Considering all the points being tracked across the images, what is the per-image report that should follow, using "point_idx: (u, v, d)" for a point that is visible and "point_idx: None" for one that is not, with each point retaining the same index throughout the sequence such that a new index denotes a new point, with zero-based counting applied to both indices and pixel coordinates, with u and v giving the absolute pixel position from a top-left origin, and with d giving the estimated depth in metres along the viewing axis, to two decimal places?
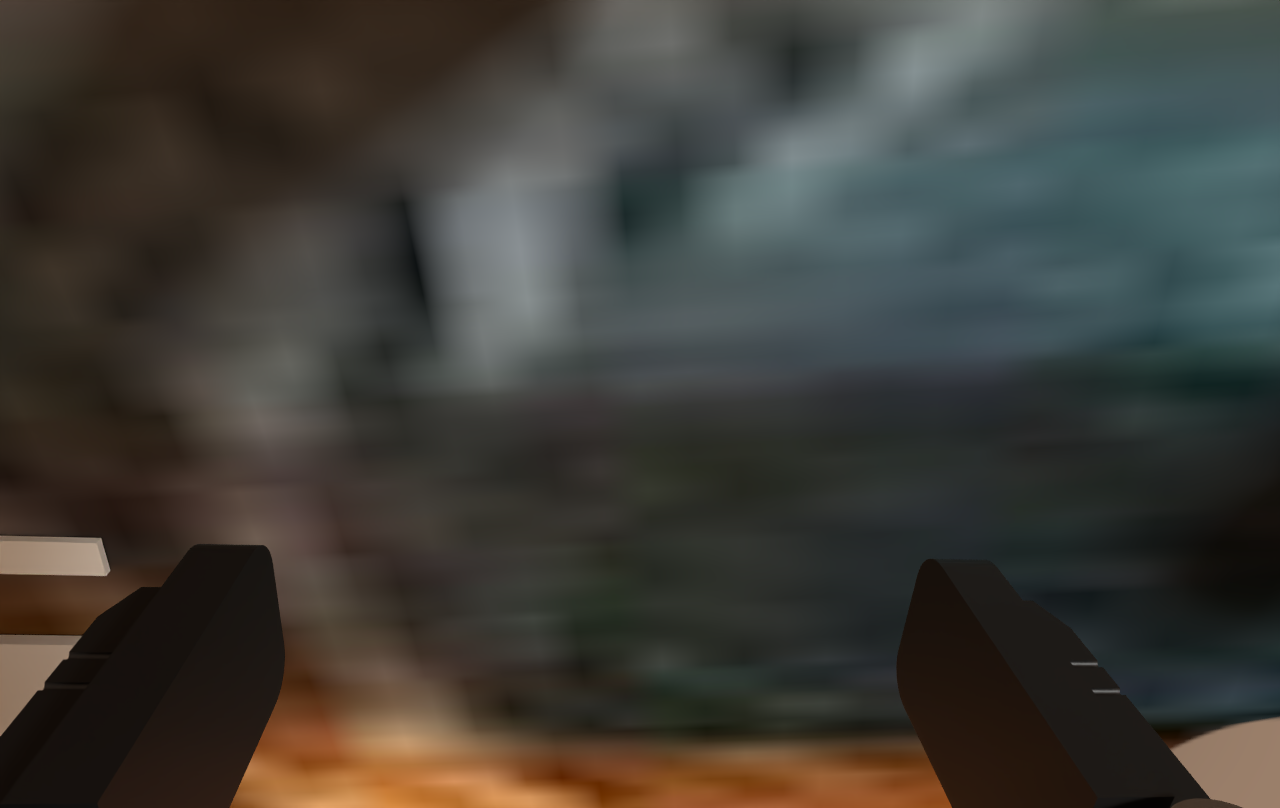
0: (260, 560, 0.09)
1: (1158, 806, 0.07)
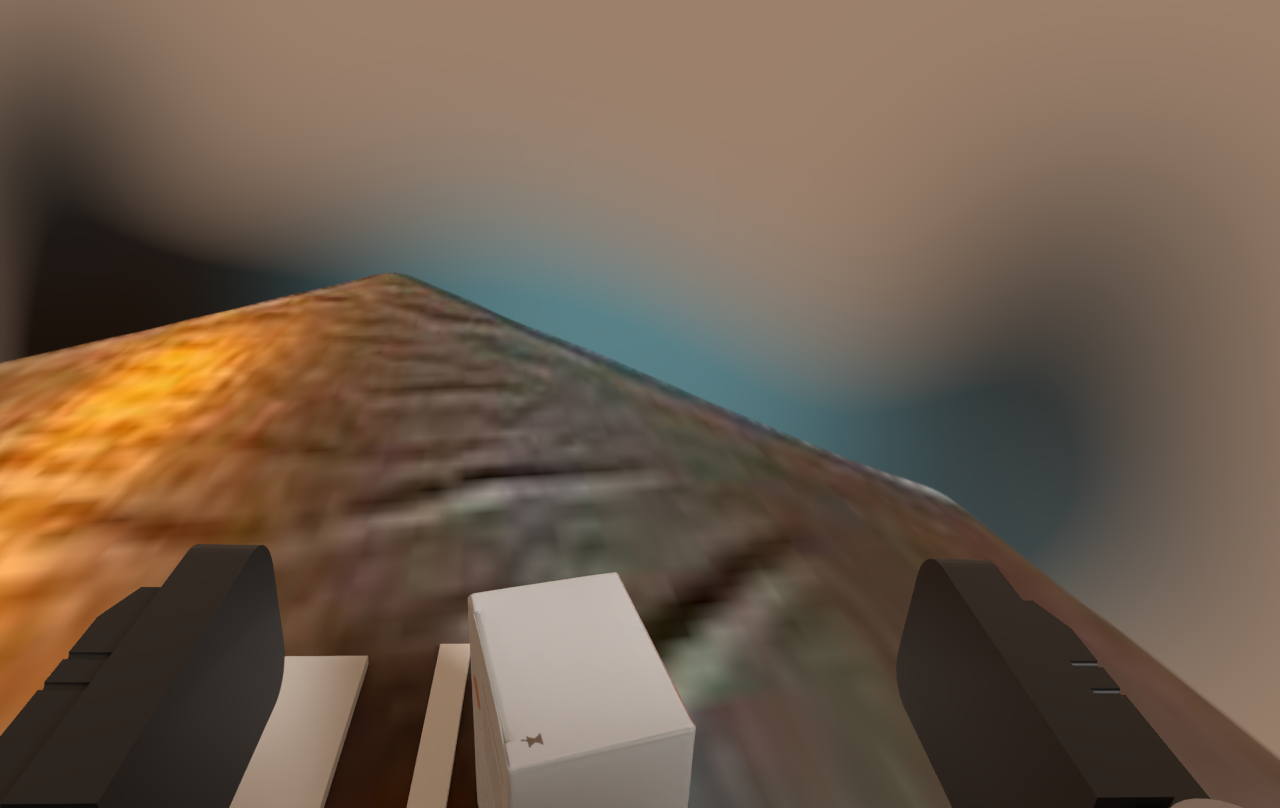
0: (260, 560, 0.09)
1: (1158, 806, 0.07)
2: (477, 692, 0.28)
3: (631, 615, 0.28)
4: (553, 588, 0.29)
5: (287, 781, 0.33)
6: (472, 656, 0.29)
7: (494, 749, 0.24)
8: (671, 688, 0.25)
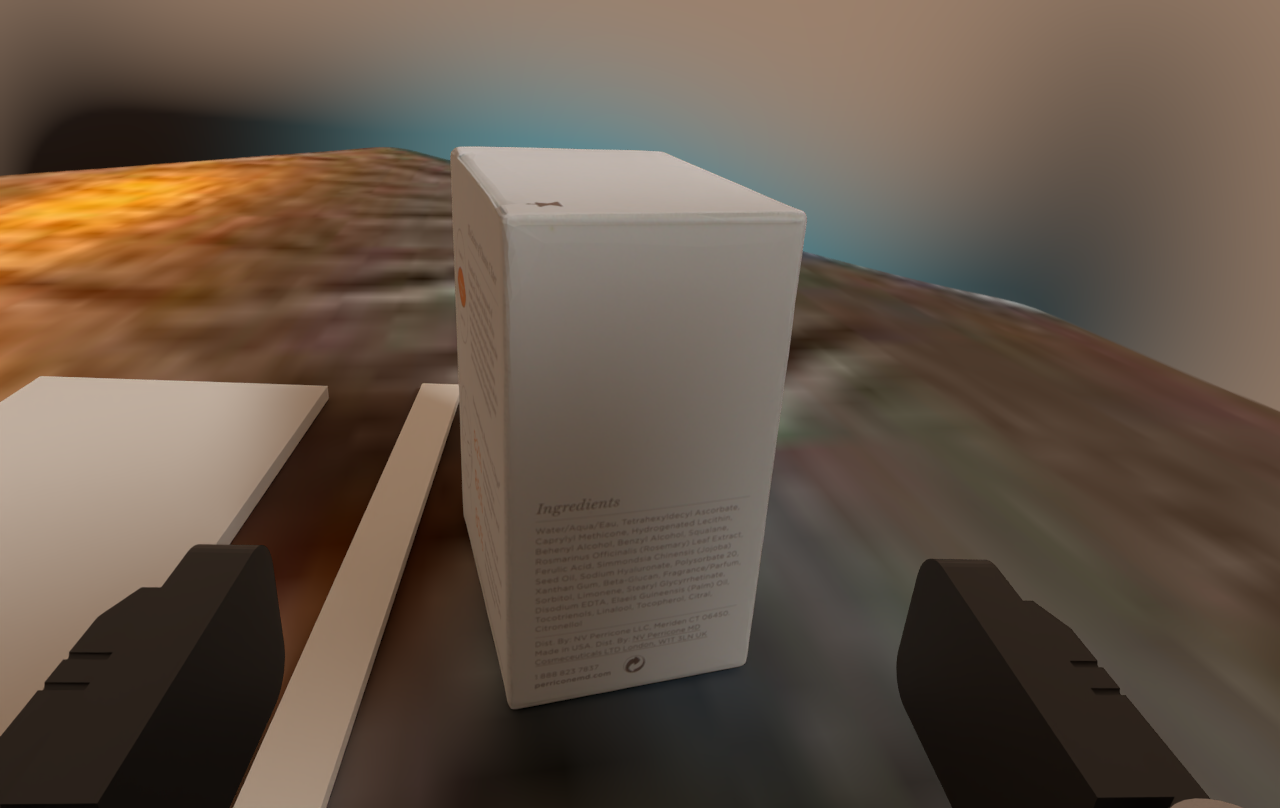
0: (260, 560, 0.09)
1: (1158, 806, 0.07)
2: (462, 282, 0.19)
3: (690, 165, 0.19)
4: (574, 150, 0.20)
5: (203, 481, 0.24)
6: (456, 242, 0.20)
7: (483, 275, 0.16)
8: (761, 194, 0.16)
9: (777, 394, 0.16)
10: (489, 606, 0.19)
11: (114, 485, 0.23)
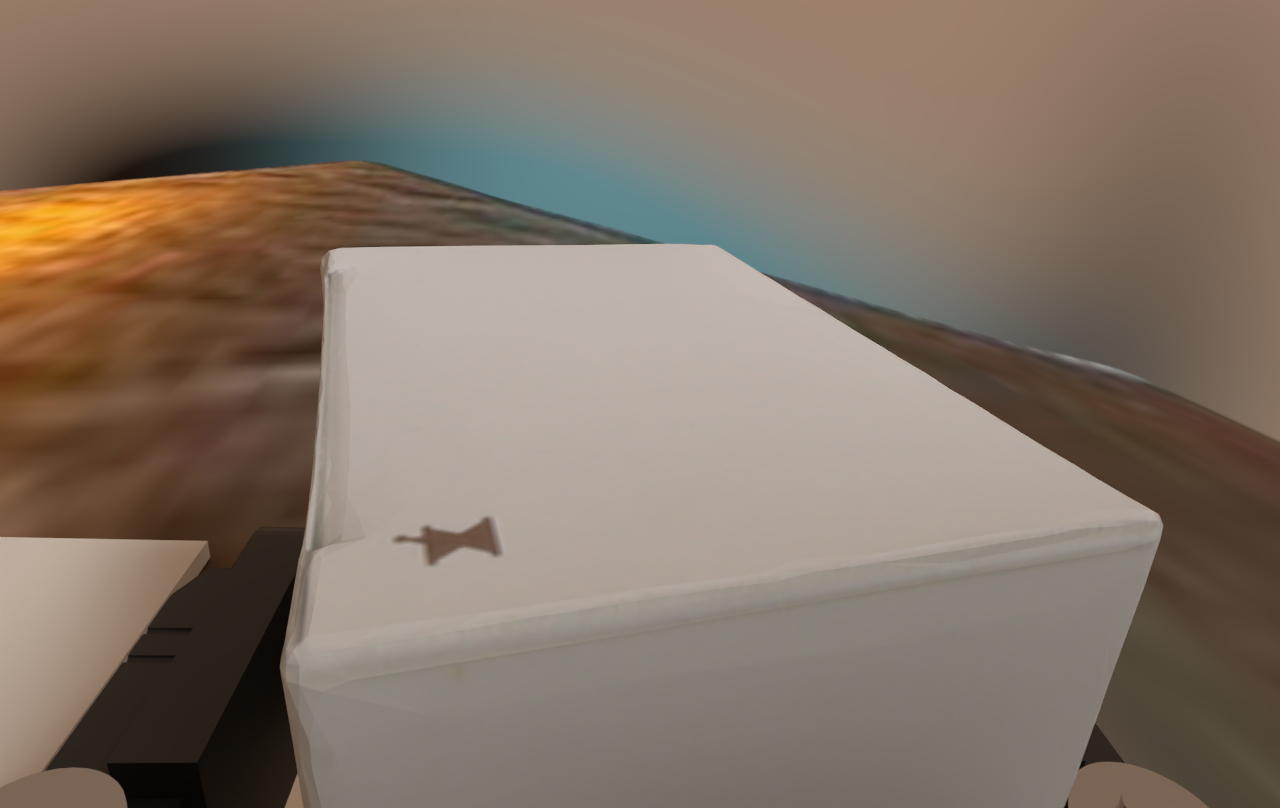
0: None
1: None
2: None
3: (780, 292, 0.10)
4: (557, 251, 0.11)
5: None
6: None
7: None
8: (991, 417, 0.07)
9: None
10: None
11: None
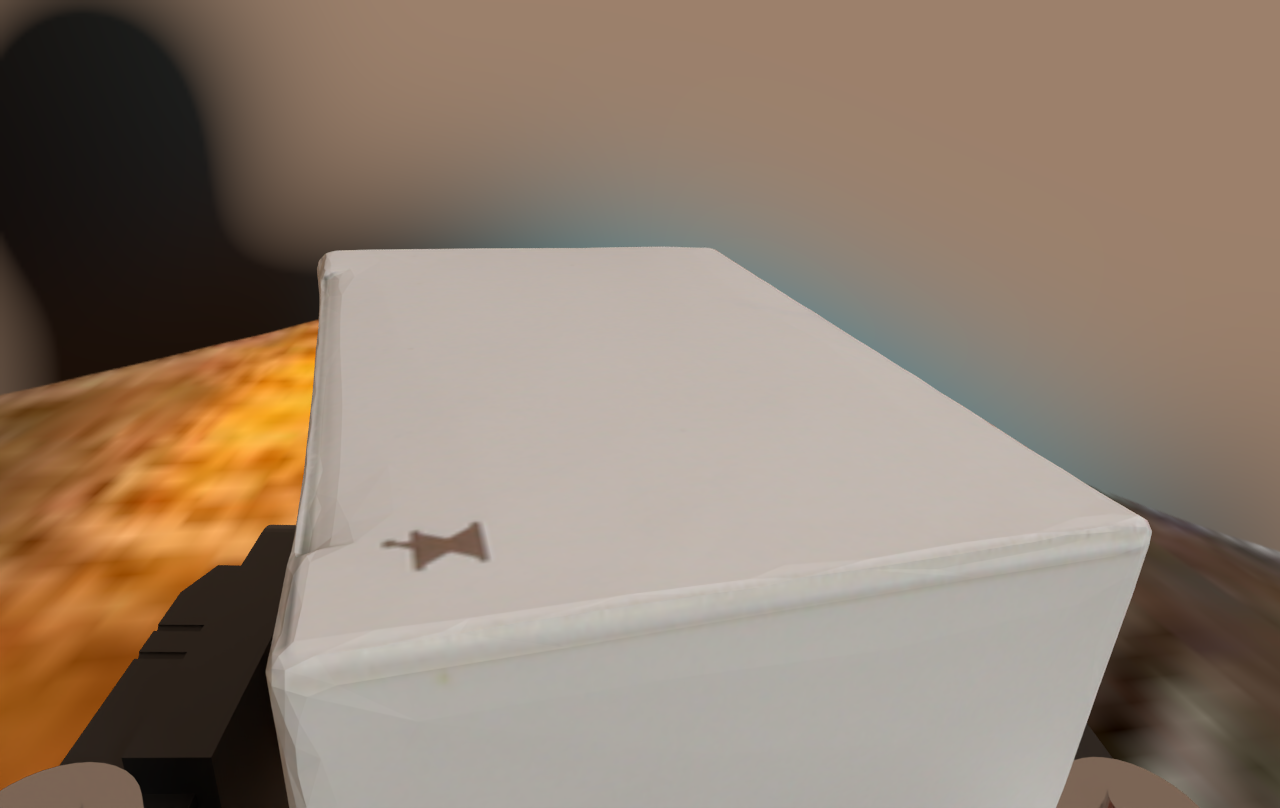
0: None
1: None
2: None
3: (775, 295, 0.10)
4: (553, 254, 0.11)
5: None
6: None
7: None
8: (982, 422, 0.07)
9: None
10: None
11: None
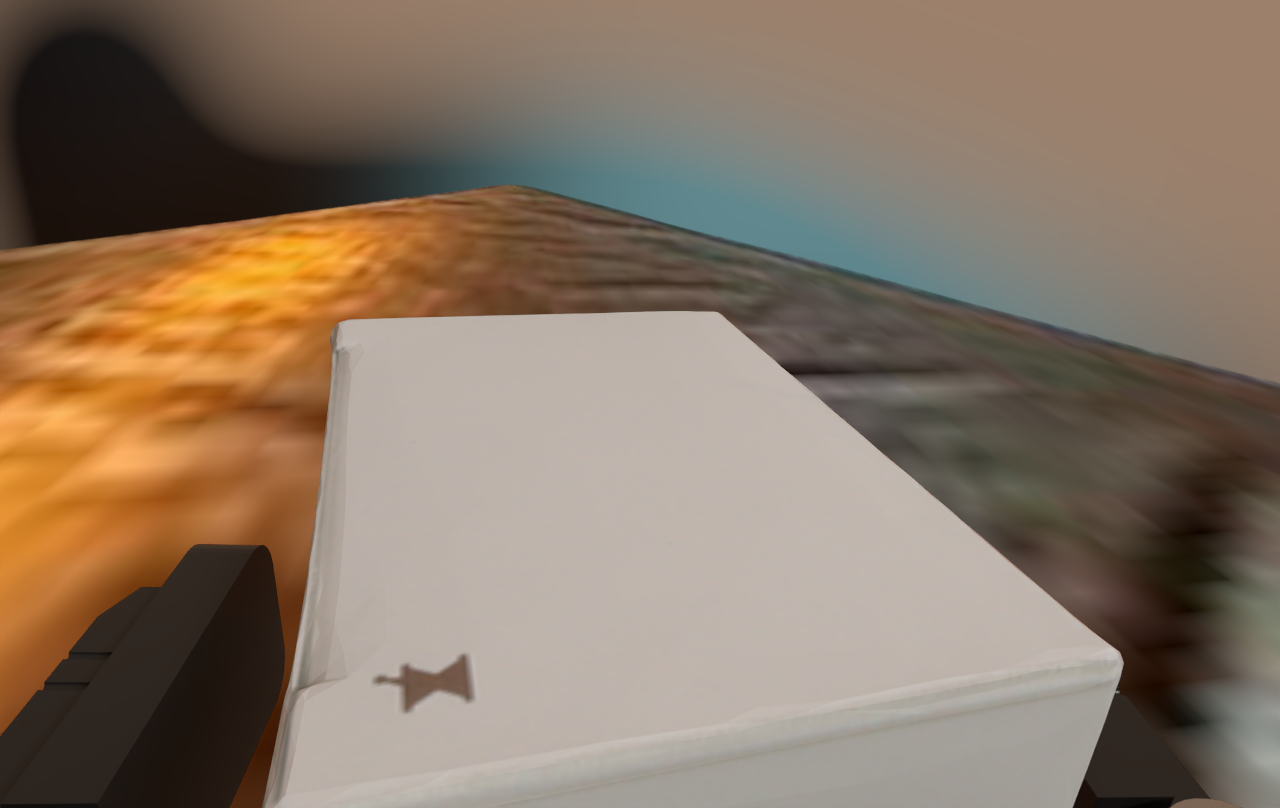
0: (260, 560, 0.09)
1: (1158, 806, 0.07)
2: None
3: (774, 372, 0.10)
4: (559, 322, 0.11)
5: None
6: None
7: None
8: (966, 531, 0.07)
9: None
10: None
11: None
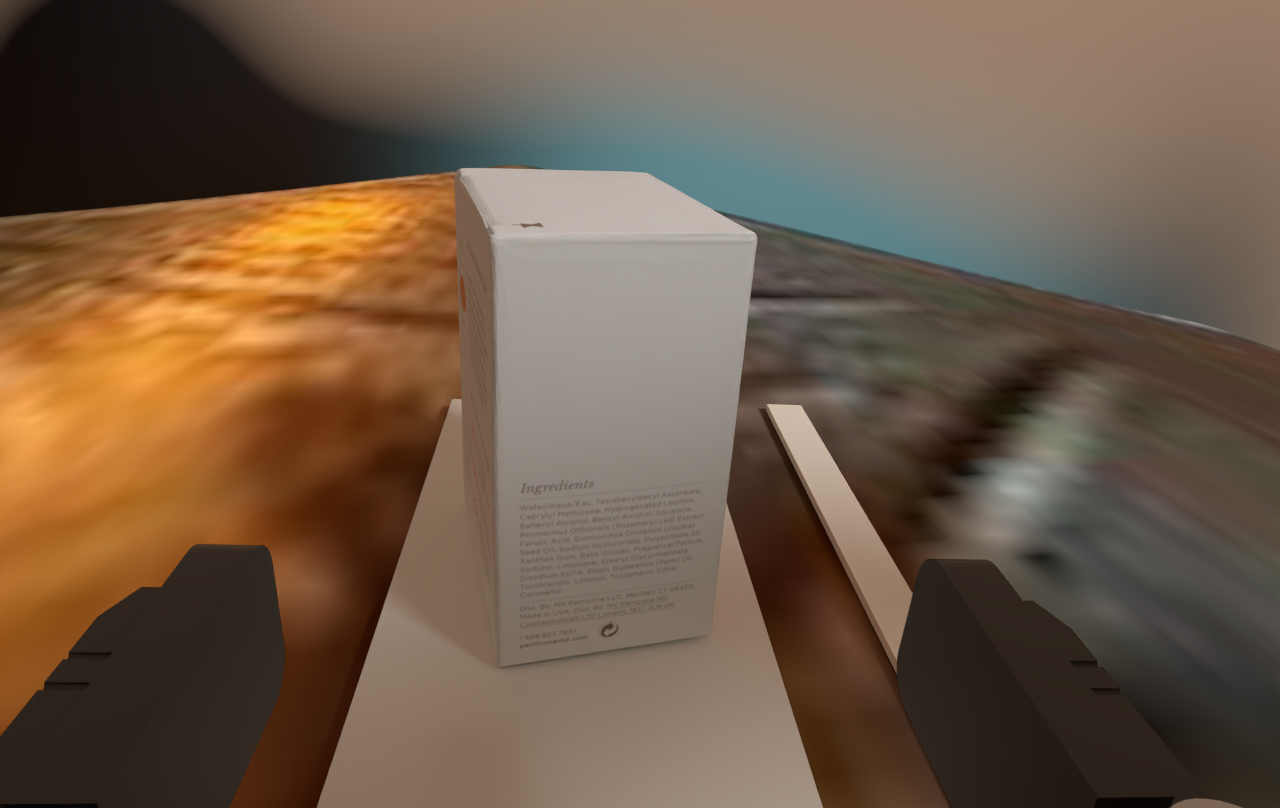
0: (260, 560, 0.09)
1: (1158, 806, 0.07)
2: (463, 289, 0.22)
3: (667, 187, 0.21)
4: (565, 171, 0.22)
5: None
6: (458, 253, 0.22)
7: (477, 284, 0.18)
8: (722, 216, 0.18)
9: (733, 391, 0.18)
10: (483, 578, 0.21)
11: None
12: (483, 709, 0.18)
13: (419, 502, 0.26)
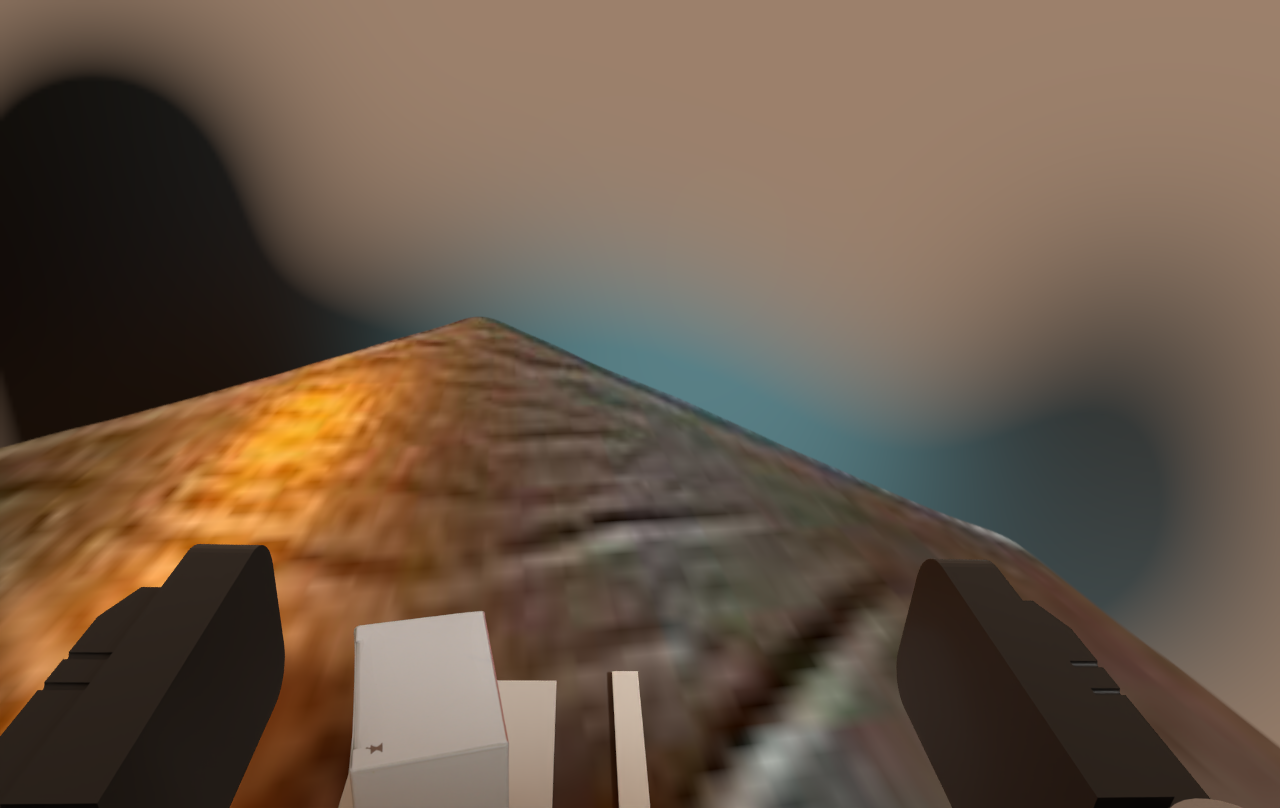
0: (260, 560, 0.09)
1: (1158, 806, 0.07)
2: None
3: (483, 648, 0.34)
4: (425, 623, 0.35)
5: (521, 784, 0.40)
6: None
7: None
8: (497, 711, 0.31)
9: None
10: None
11: None
12: None
13: (341, 801, 0.39)
